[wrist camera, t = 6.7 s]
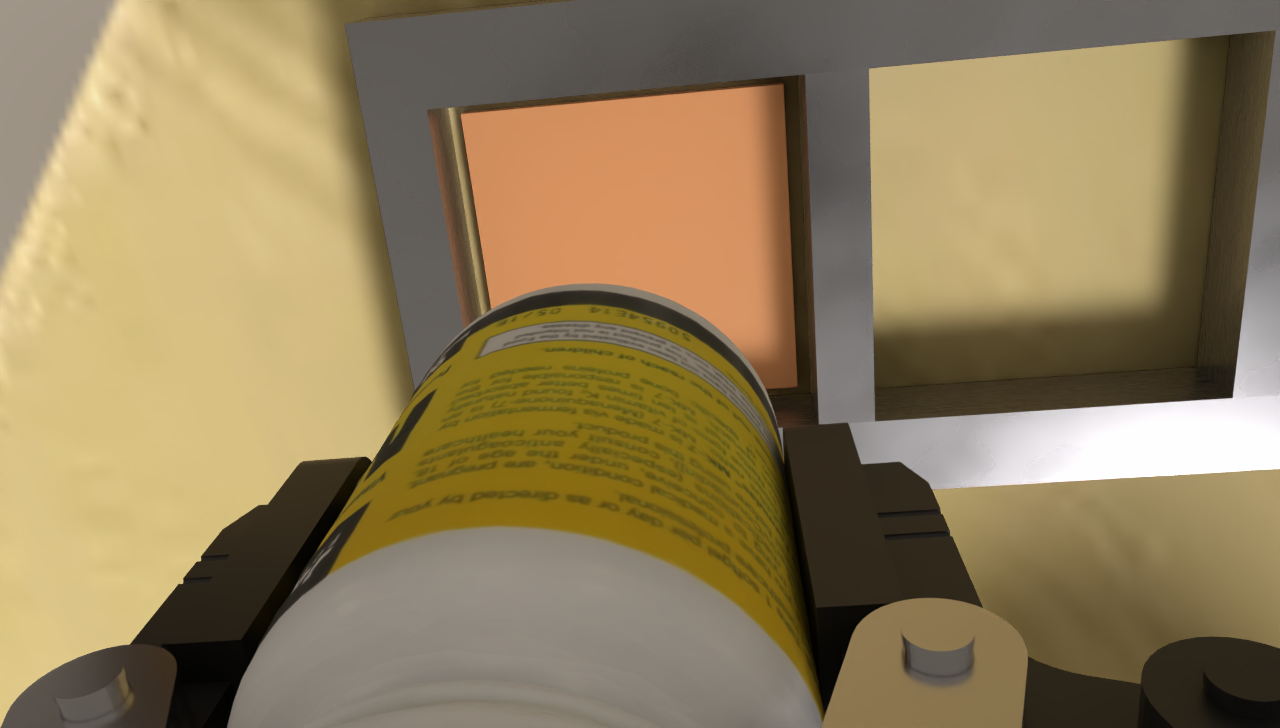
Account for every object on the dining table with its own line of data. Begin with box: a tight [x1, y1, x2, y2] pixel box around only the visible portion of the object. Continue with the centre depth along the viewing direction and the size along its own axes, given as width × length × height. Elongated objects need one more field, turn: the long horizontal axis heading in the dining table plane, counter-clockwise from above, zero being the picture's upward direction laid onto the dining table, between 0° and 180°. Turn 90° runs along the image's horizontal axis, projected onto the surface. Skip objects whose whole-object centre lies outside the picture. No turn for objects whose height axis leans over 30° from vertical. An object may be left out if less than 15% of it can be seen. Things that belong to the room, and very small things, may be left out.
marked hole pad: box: [461, 82, 798, 389], centre depth 21 cm, size 6×6×1 cm
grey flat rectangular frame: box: [345, 0, 1280, 489], centre depth 20 cm, size 25×10×2 cm, turn 96°
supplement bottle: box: [227, 283, 825, 728], centre depth 10 cm, size 5×5×8 cm
